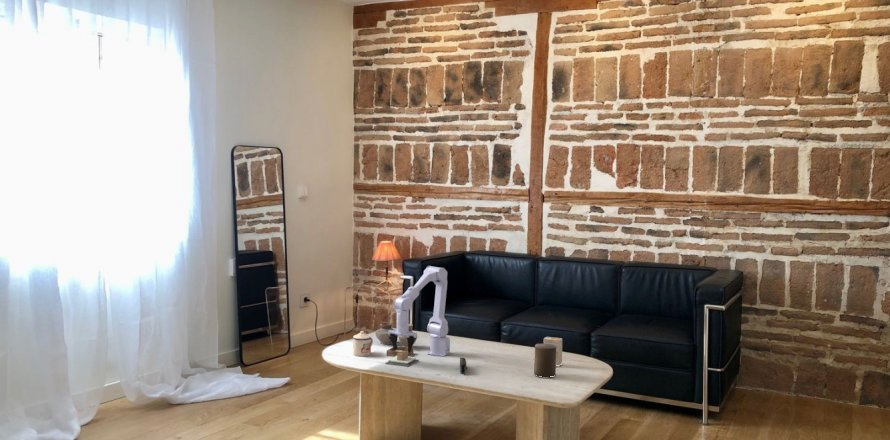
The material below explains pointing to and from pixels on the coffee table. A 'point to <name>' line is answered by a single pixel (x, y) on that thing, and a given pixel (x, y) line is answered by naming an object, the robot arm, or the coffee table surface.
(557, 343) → the supplement box
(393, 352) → the tea box
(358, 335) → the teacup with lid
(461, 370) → the dark green stone
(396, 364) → the mat
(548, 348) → the pillar candle
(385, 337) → the pottery
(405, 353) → the lid
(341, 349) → the coffee table surface
